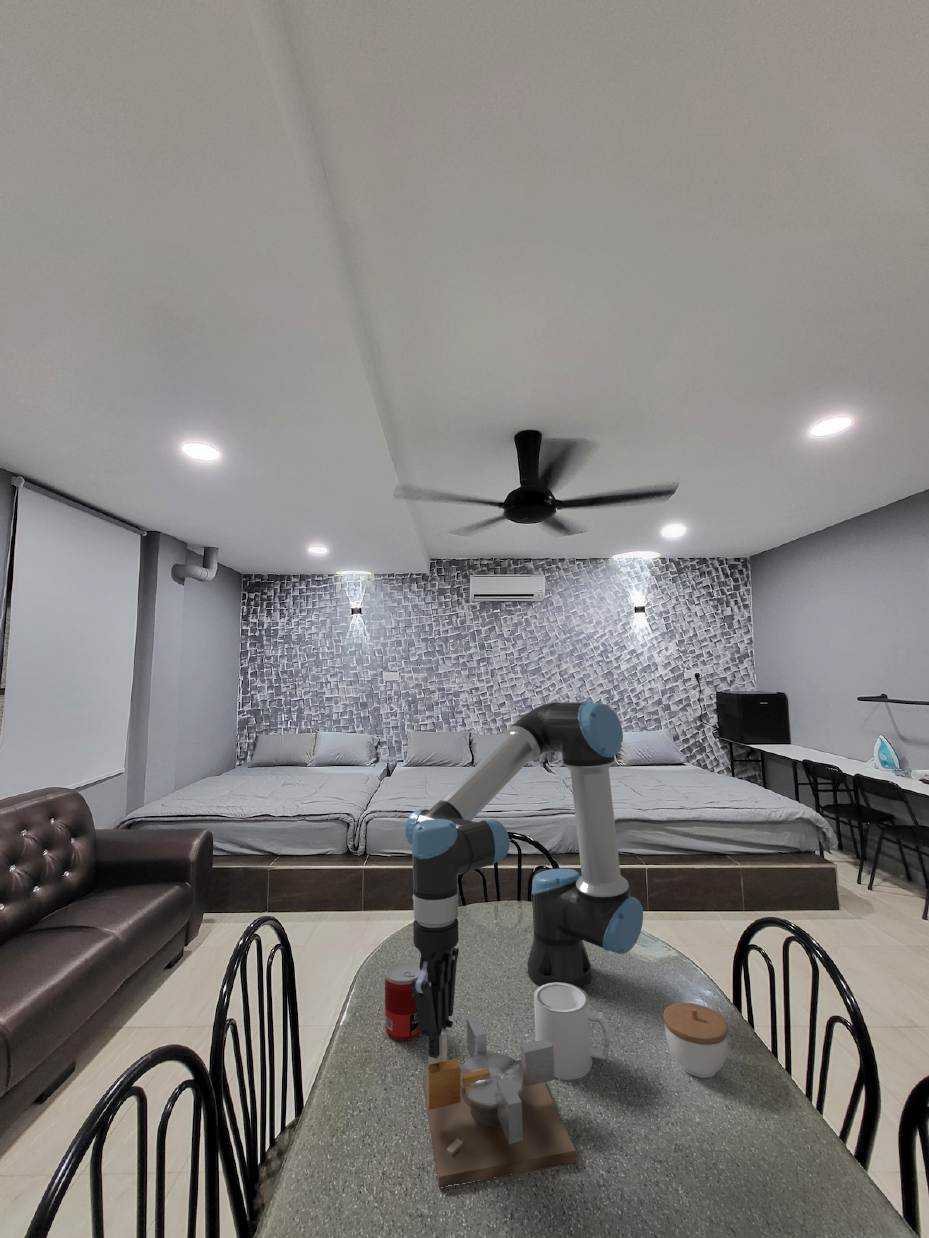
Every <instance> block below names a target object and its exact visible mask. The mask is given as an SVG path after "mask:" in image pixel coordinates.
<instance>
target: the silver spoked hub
mask: <svg viewBox="0 0 929 1238" xmlns="http://www.w3.org/2000/svg"><path fill="white" fill-rule="evenodd" d="M466 1033H467V1035H466V1039H467V1043H466V1045H467V1048H466V1049H467V1051H468V1053H469V1056H470V1057H469V1058H468V1059H467V1060H466V1061H465V1062H464V1063H463V1065H462V1067H461V1066H460V1063H459V1061H458V1059H457V1058H454V1059H447V1061H444V1062H439V1063H434V1064H430V1065H428V1064H426V1065H425V1070H426V1071H425V1072H426V1073H425V1075H426V1100H425V1102H426V1101H427V1104H428V1108H429V1110H431V1109H435V1108H440V1107H444V1106H448V1105H452V1104H456V1103H460V1102H461V1096H460V1069H461V1095H462V1098H463V1100H464V1102H465V1103H466V1104H467V1105H468V1106H469V1107H470V1108H472V1109H473V1110H475V1111H477V1112H480V1113H484V1114H498V1119H499V1122H500V1124H501V1126H502V1128H503V1131H504V1133H505V1135H506V1137H507V1140H508V1142H509V1144H513V1143H516V1142H520V1141H523V1133H522V1101H521V1099H522V1097H523V1082H524V1083H525V1085H526V1086H531V1085H535V1084H539V1083H543V1082H544V1083H547V1082H551V1081H554V1080H555V1077H554V1051H553V1045H552V1044H551V1042H550V1041H549V1039H545V1040H540V1041H532V1042H527V1043H522V1044H520V1060H521V1067H520V1065H519V1064H518V1063H517V1062H516V1061H517V1060H516V1059H514V1058H512V1057H511V1056H509V1055H507V1054H504V1053H499V1052H493V1051H492V1052H491V1051H490V1052H487V1050H488V1049H487V1048H488V1047H487V1032H486V1030H485V1027H483V1025H482V1023H481V1020H480V1019H479V1017H478V1016H474V1017H469V1018H466Z"/></svg>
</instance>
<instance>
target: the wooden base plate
mask: <svg viewBox="0 0 929 1238" xmlns="http://www.w3.org/2000/svg"><path fill="white" fill-rule="evenodd" d="M515 1061H516V1062H517V1063H518V1064H519V1065H520V1067H521V1059H518V1060H515ZM461 1069H462V1068H460V1096H461V1102H460V1103H456V1104H452V1105H448V1106H444V1107H440V1108H435V1109H431V1110H429V1108H428V1104H427V1101H426V1074H423V1075H422V1086H423V1087H422V1088H423V1093H424V1098H425V1106H426V1112H427V1119H428V1125H429V1132H430V1133H429V1134H430V1138H431V1146H432V1151H433V1158H434V1164H435V1171H436V1177H437V1184H439V1185H438V1189H439V1188H441V1187H446V1186H448V1185H454V1184H462V1183H468V1182H473V1181H478V1180H483V1181H487V1180H488V1181H489V1180H493V1179H495V1178H494V1177H498V1178H502V1177H501V1176H504V1177H506V1176H505V1175H509V1176H511V1175H510V1174H514V1175H517V1174H518V1173H519V1174H523V1173H522V1172H524V1173H528V1171H529V1172H534V1171H539V1170H544V1169H548V1168H553V1167H554V1168H556V1167H559V1166H565V1165H570V1164H574V1163H577V1150H576V1148H575V1146H574V1144H573V1141H572V1139H571V1137H570V1135H569V1133H568V1131H567V1128H566V1126H565V1124H564V1122H563V1120H562V1118H561V1115H560V1113H559V1111H558V1109H557V1107H556V1104H555V1103H554V1100H553V1099H552V1096H551V1094H550V1092H549V1090H548V1087H547V1086H546V1082H543V1083H539V1084H535V1085H531V1086H526V1085H525V1083H524V1082H523V1097H522V1099H521V1101H522V1133H523V1141H520V1142H516V1143H513V1144H509V1142H508V1140H507V1137H506V1135H505V1133H504V1131H503V1128H502V1126H501V1124H500V1122H499V1119H498V1114H484V1113H480V1112H477V1111H475V1110H473V1109H472V1108H470V1107H469V1106H468V1105H467V1104H466V1103H465V1102H464V1100H463V1098H462V1095H461ZM532 1170H533V1171H532ZM526 1171H527V1172H526ZM516 1173H517V1174H516ZM519 1174H518V1175H519ZM490 1178H491V1179H490ZM492 1178H493V1179H492ZM478 1182H479V1181H478ZM473 1183H474V1182H473ZM468 1184H469V1183H468Z"/></svg>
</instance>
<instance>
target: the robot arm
mask: <svg viewBox="0 0 929 1238" xmlns="http://www.w3.org/2000/svg"><path fill="white" fill-rule="evenodd" d="M623 733H624V731H623V727H622V723H621V721H620V718H619V716H618V714H617V713H616V712H615V711H614V710H613V709H612V708H611V707H610V706H609V705H608V704H605V703H599V702H598V703H597V702H592V701H579V702H578V701H576V702H574V701H572V702H569V701H568V702H559V701H558V702H557V701H556V702H547V703H544V704H541V705H540V706H537V707H534V709H532V710H530V711H529V712H527V713H526V714H524V715H523V716H521V717H520V718H519V719H517V721H516V722H514V723H513V724H512V725H511V726H510V727H509V728H508V729H507V730H506V733H505V738H504V739H502V740H501V741H500V742H499V743H498V744H497V745H496V746H495V747H494V748H493V749H492V750H491V751H490V752H489V753H488V754H487V755H485V757H484V758H482V759H481V760H480V761H479V762H478V763H477V764H476V765H475V766H474V767H473V768H472V769H471V770H470V771H469V772H468V773H467V774H466V775H465V776H463V778H461V780H460V781H458V782H457V783H456V784H455V785H454V786H453V787H452V788H451V789H450V790H449V791H448V792H446V794H445V795H444V796H442V798H440V799H439V800H438V802H437V803H435V804H433V806H432V807H431V808H430V809H425V808H424V809H417V810H415V811H413V812H412V813H410V815H409V816H408V818H407V820H406V822H405V825H404V835H405V838H406V841H407V842H408V843H409V844H410V845H411V854H412V884H413V885H412V886H413V895H412V897H411V899H412V900H413V918H414V921H413V923H412V924H413V927H412V928H413V930H412V931H413V933H412V934H413V935H412V936H413V937H412V938H413V940H412V941H413V946H414V947H415V948H416V949H417V950H418V951H419V953H420V960H419V964H418V965H419V967H420V970H421V972H420V975H419V977H418V979H413V980H412V983H411V987H412V989H413V991H414V993H415V1000H416V1008H417V1015H418V1023H419V1030H420V1035H419V1036H423V1037H425V1038H427V1065H430V1064H434V1063H439V1062H444V1061H448V1038H447V1037H448V1030H447V1028H449V1029H452V1027H453V1025H454V1022H453V1021H452V1020H450V1017H453V1014H454V1005H455V990H456V989H455V988H456V977H457V965H458V964H457V963H458V957H459V954H460V952H459V951H460V950H459V948H458V947H456V946H457V944H458V943H459V941H460V939H459V920H458V917H459V892H458V891H459V890H458V888H459V886H458V885H459V883H458V882H459V881H458V879H459V878H458V877H459V875H463V874H466V873H468V872H472V871H475V870H479V869H481V868H484V867H490V866H493V865H494V864H496V863H498V862H501V861H503V860H504V859H505V858H506V857H507V855H508V853H509V851H510V837H509V834H508V831H507V829H506V828H505V825H503V823H501V822H500V821H498V820H496V819H483V820H481V821H474V819H475V818H476V817H477V816H478V815H479V814H480V812H482V810H483V809H484V808H486V807H487V805H488V804H490V802H491V801H492V800H493V799H494V798H495V797H496V796H497V795H498V794H499V793H500V792H501V790H502V789H504V788H505V787H506V786H507V784H508V783H509V782H510V781H511V780H513V778H514V777H515V776H516V775H517V774H518V773H520V771H521V770H522V769H523V767H525V766H526V764H527V763H528V762H534V761H536V760H538V759H539V758H540V757H541V755H543V754H545V753H550V752H557V753H561V758H562V764H563V765H564V766H565V767H566V768H567V770H569V771H570V777H571V778H570V779H571V787H572V796H573V797H572V798H573V806H574V807H573V808H574V816H575V817H574V818H575V826H576V833H577V843H578V844H577V845H578V853H579V862H580V870H581V875H580V873H579V872H578V871H577V870H575V869H573V868H552V869H546V870H543V871H540V872H538V873H536V874H535V875H534V877H533V878H532V885H531V887H532V888H531V889H532V890H531V902H532V904H531V905H532V922H533V926H532V927H533V940H532V944H531V948H530V952H529V954H528V958H527V974H528V977H529V978H530V980H531V981H532V982H533V983H534V984H536V985H538V986H539V987H540V986H542V985H545V984H548V983H555V982H560V983H568V984H572V985H575V986H577V987H579V988H581V989H582V988H584V987H586V986H587V985H588V984H590V982H591V981H592V978H593V977H592V976H593V974H592V963H591V960H590V958H589V955H588V952H587V949H586V946H585V944H584V942H587V943H590V944H592V945H595V946H597V947H600V948H602V949H603V950H604V951H606V952H613V953H616V954H619V955H620V954H621V955H623V954H626V953H628V952H630V951H631V950H632V949H633V948H634V946H635V945H636V944H637V942H638V940H639V937H640V935H641V933H642V928H643V922H644V910H643V905H642V904H641V901H640V900H639V899H637V898H636V897H634V896H631V894H630V893H631V892H630V884H629V882H628V880H627V879H626V878H625V877H624V876H623V875H621V867H620V859H619V858H620V857H619V849H618V841H617V833H616V831H617V830H616V823H615V822H616V821H615V815H614V814H615V813H614V806H613V805H614V804H613V796H612V786H611V777H610V768H611V767H612V765H613V764H614V763H615V761H616V760H615V757H616V755H618V754H619V752H620V751H621V750H622V746H623V745H622V743H623V740H624V734H623Z"/></svg>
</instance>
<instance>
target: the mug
mask: <svg viewBox="0 0 929 1238" xmlns="http://www.w3.org/2000/svg"><path fill="white" fill-rule="evenodd" d="M533 994H534V995H533V1001H534V1002H533V1003H534V1004H533V1006H534V1007H533V1009H534V1031H535V1032H534V1034H535V1035H534V1037H535V1041H534V1042H536V1041H540V1040H545V1039H549V1041H550V1042H551V1044H552V1045H553V1051H554V1078H556V1079H558V1080H564V1081H565V1080H568V1081H570V1080H571V1081H572V1080H576V1079H578V1080H579V1079H580V1078H583V1077H584V1076H586V1075H588V1074H589V1072H591V1069H592V1066H593V1059H595V1060H599V1061H605V1062H606V1061H607V1058H608V1054H609V1050H610V1045H611V1044H610V1043H611V1040H610V1036H611V1035H610V1027H609V1024H608V1022H607V1020H606V1018H605V1015H604V1014H603V1012H602V1011H596V1010H591V1009H590V997H589V995H588V993H587V992H586V991H584V990H583V989H582V988H579V987H577V986H575V985H572V984H568V983H560V982H555V983H548V984H545V985H542V986H540V985H539V986H538V988H536V989H535V991H534V993H533ZM591 1022H596V1023H599V1025H600V1027H601V1030H602V1031H603V1034H604V1035H603V1036H604V1046H603V1048H598V1047H593V1046H592V1034H591V1029H592V1028H591Z"/></svg>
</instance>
